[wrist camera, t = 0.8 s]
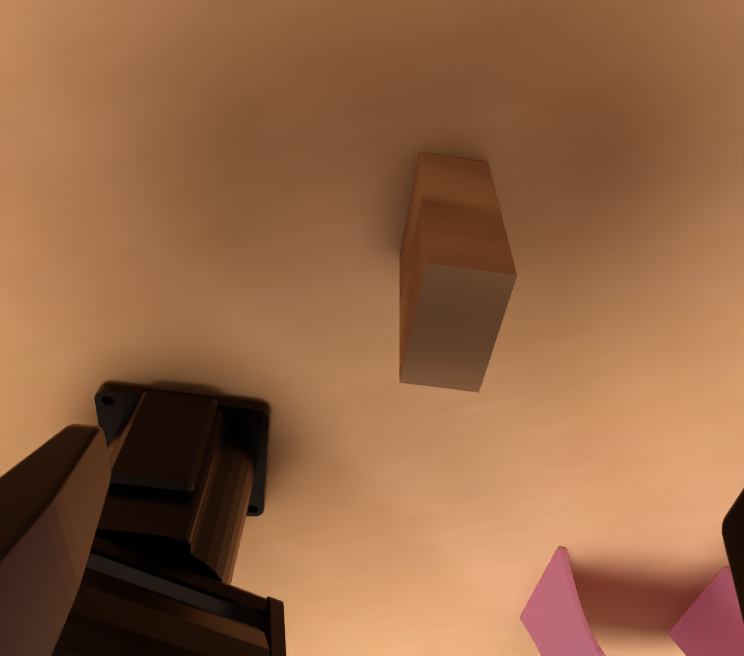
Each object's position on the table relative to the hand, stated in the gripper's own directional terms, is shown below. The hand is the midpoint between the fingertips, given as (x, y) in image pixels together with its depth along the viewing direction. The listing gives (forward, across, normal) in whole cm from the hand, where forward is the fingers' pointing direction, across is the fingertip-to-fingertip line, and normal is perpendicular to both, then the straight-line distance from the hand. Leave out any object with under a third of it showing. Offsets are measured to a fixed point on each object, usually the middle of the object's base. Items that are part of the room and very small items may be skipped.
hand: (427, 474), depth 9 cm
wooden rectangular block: (+12, -1, +2) cm, 12 cm away
